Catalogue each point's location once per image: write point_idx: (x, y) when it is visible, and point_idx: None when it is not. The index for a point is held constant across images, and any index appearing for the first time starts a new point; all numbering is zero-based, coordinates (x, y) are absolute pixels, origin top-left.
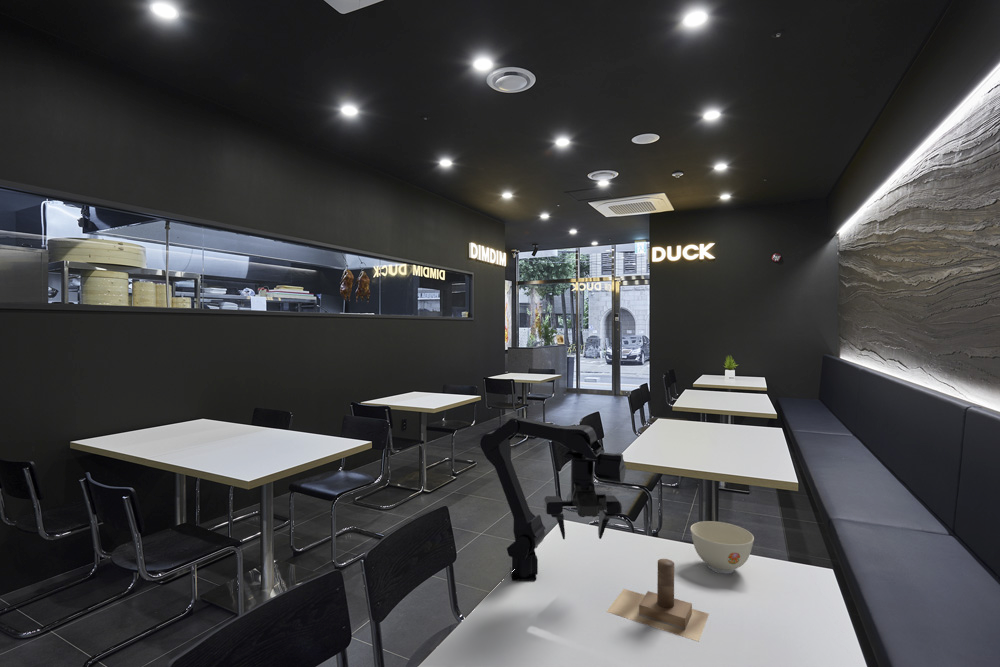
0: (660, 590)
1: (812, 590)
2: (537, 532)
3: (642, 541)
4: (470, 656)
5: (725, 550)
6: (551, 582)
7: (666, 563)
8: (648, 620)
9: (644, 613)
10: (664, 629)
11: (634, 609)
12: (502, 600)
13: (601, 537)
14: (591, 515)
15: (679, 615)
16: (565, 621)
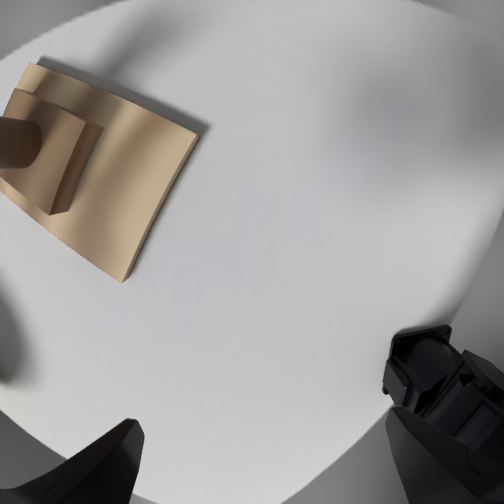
0: (6, 123)
1: None
2: (468, 437)
3: None
4: (498, 41)
5: None
6: (351, 332)
7: None
8: (88, 109)
9: (87, 120)
10: (67, 80)
11: (108, 159)
12: (482, 225)
13: (121, 422)
14: None
15: (19, 96)
16: (338, 106)
